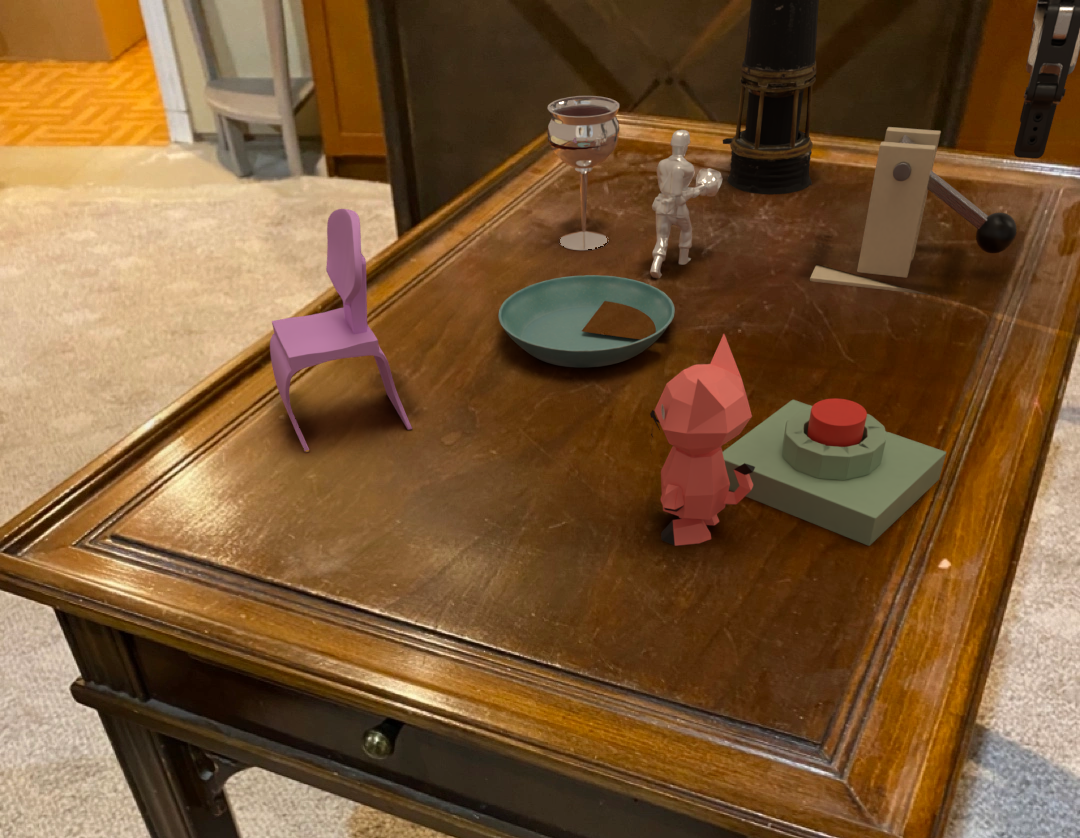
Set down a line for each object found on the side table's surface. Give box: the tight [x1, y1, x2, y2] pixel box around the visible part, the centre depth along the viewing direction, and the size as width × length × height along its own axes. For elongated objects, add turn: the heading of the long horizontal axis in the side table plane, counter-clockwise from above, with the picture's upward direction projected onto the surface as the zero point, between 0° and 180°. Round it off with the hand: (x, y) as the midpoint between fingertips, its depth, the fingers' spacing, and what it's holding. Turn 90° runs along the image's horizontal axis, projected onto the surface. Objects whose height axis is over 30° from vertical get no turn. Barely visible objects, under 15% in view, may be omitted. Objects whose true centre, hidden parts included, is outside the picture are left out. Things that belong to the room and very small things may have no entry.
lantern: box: [722, 0, 820, 196], centre depth 103 cm, size 9×9×30 cm
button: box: [807, 398, 868, 447], centre depth 70 cm, size 4×4×2 cm
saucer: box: [497, 274, 676, 369], centre depth 89 cm, size 15×15×3 cm
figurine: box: [649, 129, 723, 279], centre depth 95 cm, size 5×9×12 cm, turn 154°
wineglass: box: [546, 95, 621, 251], centre depth 101 cm, size 7×7×12 cm
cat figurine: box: [649, 333, 755, 546], centre depth 65 cm, size 7×7×12 cm
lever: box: [898, 135, 1018, 254], centre depth 90 cm, size 13×3×3 cm, turn 70°
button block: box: [722, 399, 947, 547], centre depth 72 cm, size 12×10×4 cm
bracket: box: [809, 126, 942, 296], centre depth 92 cm, size 12×9×12 cm
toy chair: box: [269, 208, 413, 452], centre depth 76 cm, size 8×9×15 cm
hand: (1030, 139), depth 85 cm, fingers open, 8 cm apart
